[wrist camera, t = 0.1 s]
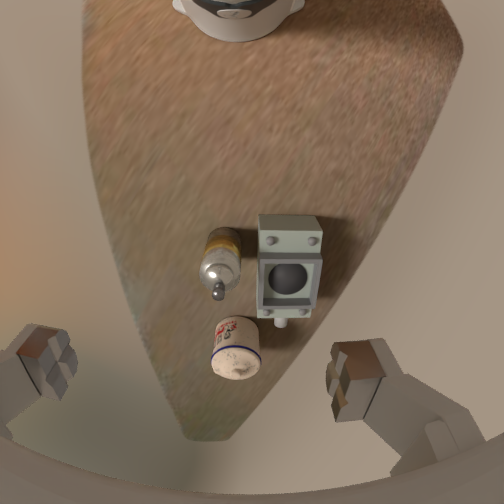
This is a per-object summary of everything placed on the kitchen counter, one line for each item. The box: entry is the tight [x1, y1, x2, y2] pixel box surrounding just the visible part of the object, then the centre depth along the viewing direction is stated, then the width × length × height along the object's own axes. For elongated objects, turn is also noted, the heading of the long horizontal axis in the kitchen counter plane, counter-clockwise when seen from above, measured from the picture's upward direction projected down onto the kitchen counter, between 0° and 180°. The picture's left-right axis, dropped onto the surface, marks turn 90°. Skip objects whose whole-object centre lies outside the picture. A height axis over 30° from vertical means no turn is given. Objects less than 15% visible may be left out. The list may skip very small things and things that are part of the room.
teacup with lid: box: [211, 316, 261, 380], centre depth 55 cm, size 12×9×12 cm
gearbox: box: [256, 215, 323, 328], centre depth 49 cm, size 20×9×8 cm, turn 179°
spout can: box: [199, 227, 241, 301], centre depth 44 cm, size 6×6×13 cm
